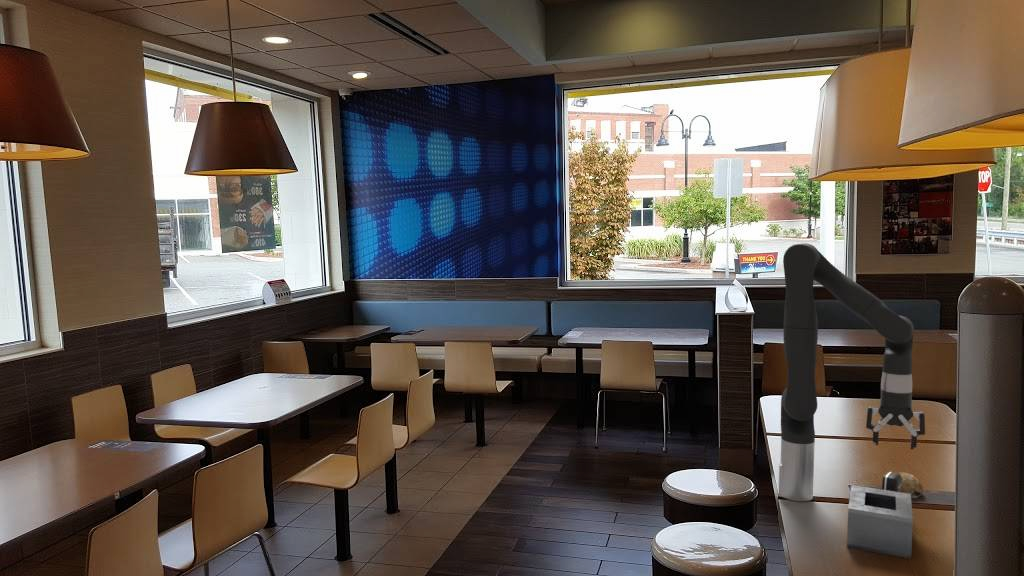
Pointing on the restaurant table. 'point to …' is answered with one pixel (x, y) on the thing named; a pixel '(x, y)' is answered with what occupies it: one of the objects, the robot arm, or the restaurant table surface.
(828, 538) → the restaurant table surface
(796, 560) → the restaurant table surface
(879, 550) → the box
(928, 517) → the restaurant table surface
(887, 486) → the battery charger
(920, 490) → the bread roll
